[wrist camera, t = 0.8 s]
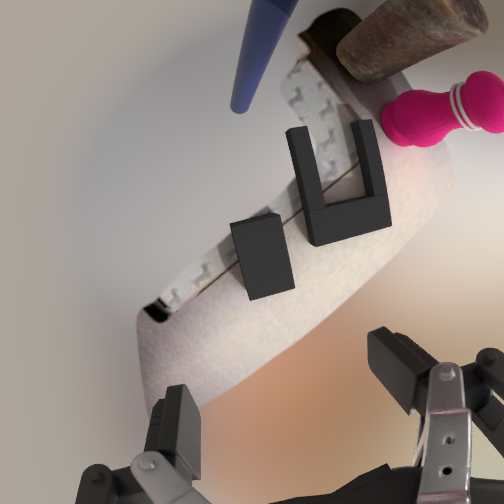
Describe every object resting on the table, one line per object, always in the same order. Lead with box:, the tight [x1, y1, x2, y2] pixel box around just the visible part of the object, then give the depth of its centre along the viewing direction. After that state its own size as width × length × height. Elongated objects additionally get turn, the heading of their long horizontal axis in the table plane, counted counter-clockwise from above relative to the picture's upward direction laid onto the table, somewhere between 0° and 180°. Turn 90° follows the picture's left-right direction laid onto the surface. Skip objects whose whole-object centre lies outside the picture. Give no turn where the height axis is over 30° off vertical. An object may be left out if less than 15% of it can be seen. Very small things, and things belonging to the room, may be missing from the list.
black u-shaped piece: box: [285, 119, 392, 247], centre depth 29 cm, size 13×10×2 cm
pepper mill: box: [381, 71, 504, 147], centre depth 20 cm, size 7×7×20 cm
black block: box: [230, 213, 295, 301], centre depth 29 cm, size 8×5×3 cm, turn 13°
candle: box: [336, 0, 489, 83], centre depth 18 cm, size 8×7×20 cm
